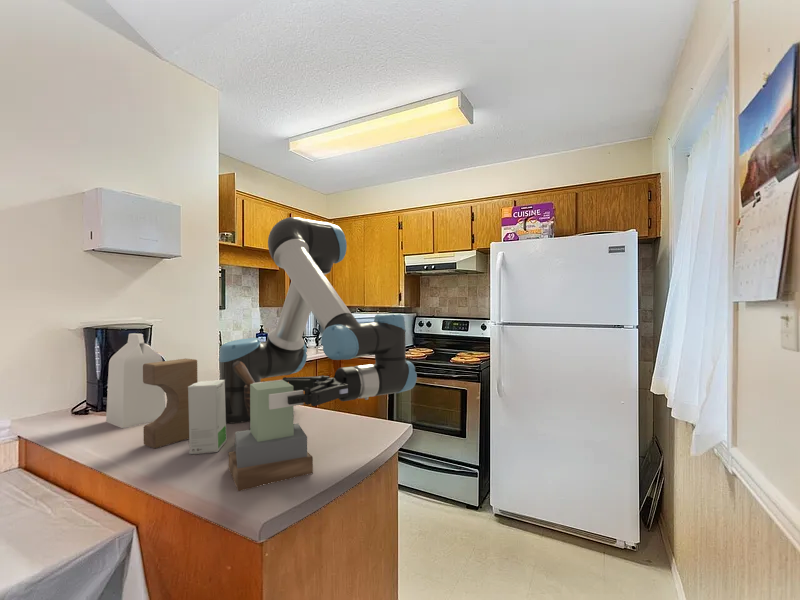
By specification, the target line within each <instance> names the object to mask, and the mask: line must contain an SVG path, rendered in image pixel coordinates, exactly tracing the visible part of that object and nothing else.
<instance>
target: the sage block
mask: <svg viewBox="0 0 800 600" xmlns="http://www.w3.org/2000/svg"><path fill="white" fill-rule="evenodd" d="M273 381H274V382H265V383H256V384H250V421H249V423H250V424H249V425H250V427H249V428H250V432H251V434H252V435H253V436H254V438H255V439H256V440H257V442H261V441H266V440H272V439H277V438H282V437H288V436H293V435H294V424H295V423H294V421H295V420H294V418H295V417H294V412H295V411H294V410H295V409H294V408H295V407H294V406H290V407H284V408H277V409H271V410H270V409H269V394H276V393H283V392H291V391H293V386H292V385H291V384H289V382H288V383H287V382H286V381H284V380H283V381H275V380H273Z"/></svg>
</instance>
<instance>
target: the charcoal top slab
mask: <svg viewBox="0 0 800 600" xmlns="http://www.w3.org/2000/svg"><path fill="white" fill-rule="evenodd" d="M234 440H235V441H234V442H235V444H234V445H235V447H234V448H235V450H234V451H236V460H237V469H238V468H244V467H250V466H255V465H261V464H267V463H273V462H279V461H285V460H290V459H296V458H302V457H307V452H308V436H307V434H306V433H305V431H304V429H303V428H302V426H300V424H299V423H298V422H297V423H294V435H293V436H288V437H282V438H277V439H272V440H266V441H261V442H257V440H256V439H255V438H254V436H253V435H252V434H251V432H250V430H249V429H247V430H246V429H245V430H239V431H238V430H237V431H235V432H234Z"/></svg>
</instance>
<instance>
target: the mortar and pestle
mask: <svg viewBox="0 0 800 600" xmlns="http://www.w3.org/2000/svg"><path fill="white" fill-rule="evenodd" d="M232 368H233V370H234V372H235V373H236V374H237V375H238V376H239V377H240V378H241V379H242V380H243V381H244V382H245V383H246V385H245V386H244V400H245V406H246V408H247V411H248V412H247V413H248V415H249V416H250V384H253V383H255V381H254V380H253V378H252V377H251V375H250V373H249V371H248V369H247V368H246V366H245V365H244V363H243V362H241V361H236V362H234V363H233V365H232ZM267 381H268V380H267ZM267 381H265V380H263V381H262V382H267ZM256 383H258V382H256ZM248 430H250V427H249V428H248Z"/></svg>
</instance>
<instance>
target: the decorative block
mask: <svg viewBox="0 0 800 600" xmlns="http://www.w3.org/2000/svg"><path fill="white" fill-rule="evenodd" d="M197 382H199V380H198V360H197V359H194V358H180V359H179V358H178V359H173V360H172V359H171V360H165V361H164V360H162V362H154V363H146V364H144V365H143V383H145V384H150V385H157V386H159V387H161V388H162V389H163V391H164V392H165V397H166V403H165V407H166V408H165V409H164V411H163V413H162V414H161V415H160V416H159V417H158V418H157V419H156V420H155V421H153V422H148V423H146V424H145V425H144V426H143V427H142V428H143V445H144V446H146V447H149V448H152V449H158V448H162V447H165V446H166V447H167V446H169V445H172V444H175V443H179V442H182V441H186V440H189V403H188V386H191V385H192V384H194V383H197Z"/></svg>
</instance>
